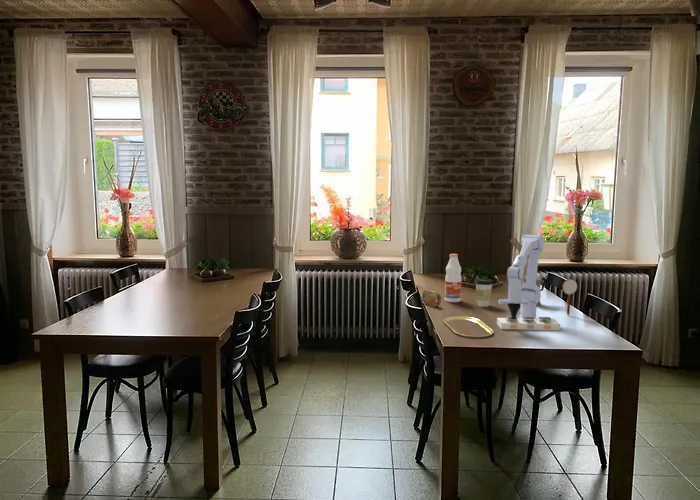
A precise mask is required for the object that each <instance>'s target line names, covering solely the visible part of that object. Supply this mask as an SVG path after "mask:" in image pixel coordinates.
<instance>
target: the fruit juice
mask: <svg viewBox="0 0 700 500" xmlns="http://www.w3.org/2000/svg"><path fill="white" fill-rule="evenodd" d="M458 257H459V254H457V253H450V254H449V260H448V263H447V265H446V267H445V273H446V274H445V278H444V279H445V280H444V281H445V282H444V301H446V302H448V303H459V302H461V300H462V275H461V272H462V267H461V265H460V262H459V259H458Z"/></svg>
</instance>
